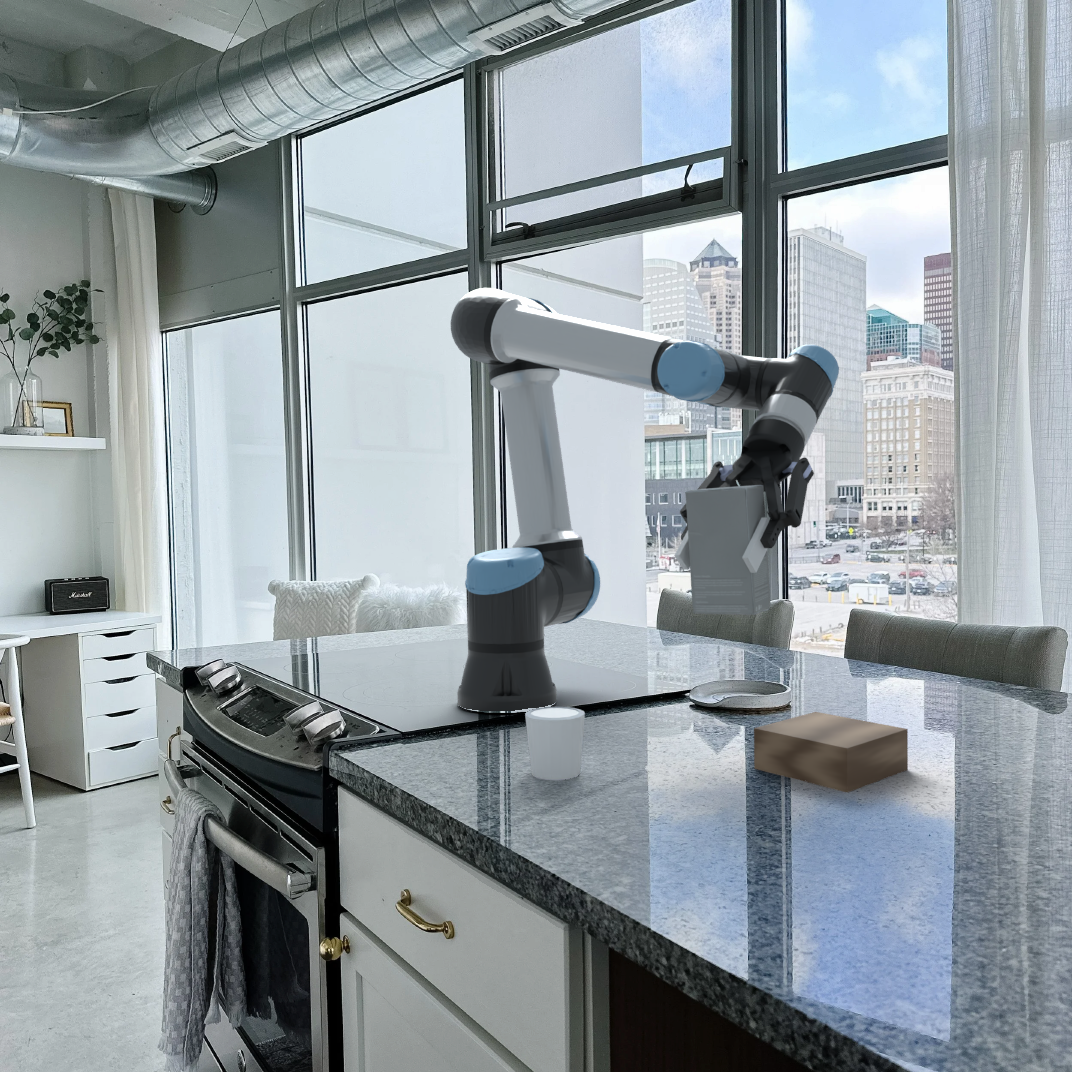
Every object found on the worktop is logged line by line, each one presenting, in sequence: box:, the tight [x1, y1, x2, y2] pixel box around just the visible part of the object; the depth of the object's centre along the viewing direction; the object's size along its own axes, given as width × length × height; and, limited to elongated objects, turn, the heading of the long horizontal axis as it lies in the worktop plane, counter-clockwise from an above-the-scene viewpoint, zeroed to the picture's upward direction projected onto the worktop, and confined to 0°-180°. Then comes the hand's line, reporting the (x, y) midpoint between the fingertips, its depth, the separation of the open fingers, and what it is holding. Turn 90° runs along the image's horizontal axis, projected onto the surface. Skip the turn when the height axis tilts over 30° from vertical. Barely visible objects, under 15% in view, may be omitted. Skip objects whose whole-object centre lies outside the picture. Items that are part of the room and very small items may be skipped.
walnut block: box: [753, 711, 909, 794], centre depth 108 cm, size 12×12×5 cm
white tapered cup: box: [524, 706, 586, 781], centre depth 108 cm, size 7×7×7 cm
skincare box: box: [685, 485, 772, 616], centre depth 118 cm, size 8×7×16 cm
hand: (714, 563), depth 116 cm, fingers closed on skincare box, 9 cm apart
